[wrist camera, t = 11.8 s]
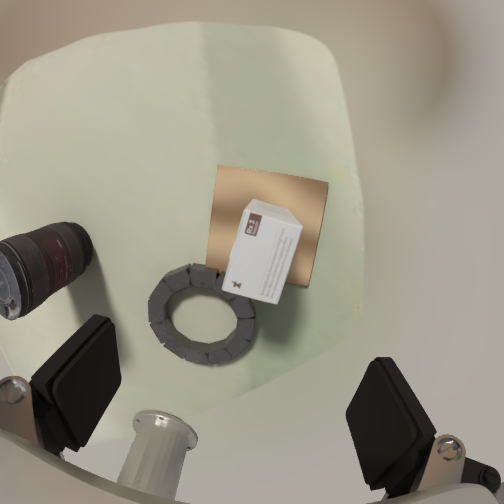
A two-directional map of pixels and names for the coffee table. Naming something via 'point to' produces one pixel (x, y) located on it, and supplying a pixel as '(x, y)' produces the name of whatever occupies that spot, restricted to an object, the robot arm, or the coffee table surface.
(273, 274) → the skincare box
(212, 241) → the pad
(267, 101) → the coffee table surface
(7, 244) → the camera lens
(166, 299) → the collar
